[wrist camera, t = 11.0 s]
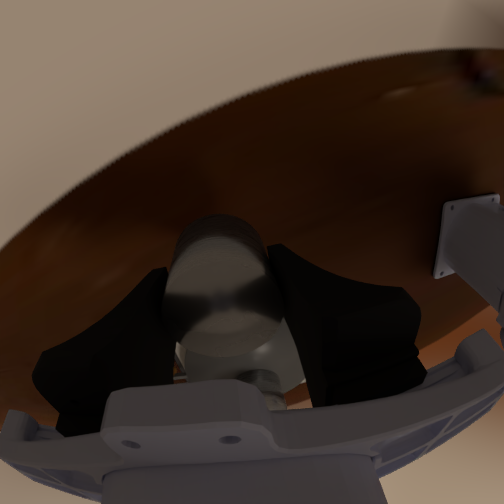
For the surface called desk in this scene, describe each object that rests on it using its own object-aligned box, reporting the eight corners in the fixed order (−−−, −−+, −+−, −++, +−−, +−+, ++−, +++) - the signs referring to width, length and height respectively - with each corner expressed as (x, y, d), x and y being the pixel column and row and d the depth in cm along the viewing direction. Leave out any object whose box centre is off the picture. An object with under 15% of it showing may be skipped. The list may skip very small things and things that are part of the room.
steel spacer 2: (281, 366, 24) (292, 407, 20) (278, 393, 26) (287, 430, 22) (231, 371, 23) (235, 414, 19) (233, 398, 25) (238, 436, 21)
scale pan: (311, 292, 22) (316, 302, 21) (313, 378, 27) (317, 387, 26) (149, 323, 21) (146, 334, 20) (192, 400, 27) (191, 410, 26)
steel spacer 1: (263, 210, 13) (286, 257, 9) (264, 289, 15) (281, 351, 11) (168, 217, 13) (149, 267, 9) (181, 296, 15) (174, 359, 11)
